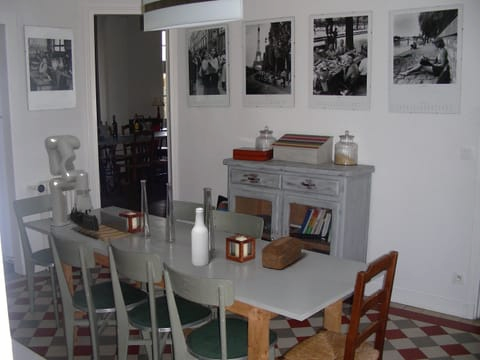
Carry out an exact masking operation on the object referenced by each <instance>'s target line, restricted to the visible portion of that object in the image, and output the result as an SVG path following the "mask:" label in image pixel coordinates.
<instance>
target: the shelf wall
mask: <svg viewBox="0 0 480 360" xmlns="http://www.w3.org/2000/svg"><path fill="white" fill-rule="evenodd" d="M99 216H100V223H101V225H104V226H107V227H110V228H113V229H116V230H119V231H121V232H124V233H128V218H125V217H122V216H119V215H116V214H114V213H113V214H112V213H110V212H108V211H107V212H106V211H102V210H100V211H99Z"/></svg>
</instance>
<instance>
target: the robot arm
mask: <svg viewBox="0 0 480 360" xmlns="http://www.w3.org/2000/svg"><path fill="white" fill-rule="evenodd" d="M44 147H45V150H46V152H47V156H48V165H49V172H50V175H52V176H53V178H51V179H50V180H49V182H48V187H49V192H50V198H51V212H52V213H51V214H52V217H51V219H52V221H51V222H50V226H51V227H52V226H53V227H63V226H68V225H70V224H71V220H68V204H67V203H68V202H67V197H66V195H65V194H64V192H69V191H74V190H75V194H74V198H73V207H74V210H73V212H74V213H76V214H77V215H78V216H79V221H80V222H83V217H82V212H83V211H84V213H85V214H88V215H90V213H91V212H92V210H94V206H93V205H92V204H93V202H92V197H91V196H92V195H91V193H90V192H91V188H90V186H89V185H90V184H89V182H90V181H89V173H88V172H87V171H85V170H84V169H75V164H74V161H75V160H76V159H77V155H76V152H75V150H76V151H77V150H79V149H80V148H81V141H80V139H79V138H78V137H77V136H75V135H72V134H64V135H49V136H47V137H45V139H44ZM55 176H56V177H55ZM57 176H58V177H57ZM59 176H60V177H59ZM76 210H77V211H78V212H77V211H76Z"/></svg>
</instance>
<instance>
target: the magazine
mask: <svg viewBox="0 0 480 360" xmlns="http://www.w3.org/2000/svg"><path fill="white" fill-rule="evenodd" d="M73 210H74V206H73V207H72V209H71V210H70V211H71V212H70V213H69V219H70V221H72V222H73V224H74V225H77V226H78V228H83V229H86V230H90V231H95V232H97V231H100V230H99V224H100V223H99V220H98V218H97V216H96V215H95V214H94V215H91V214H89V215H88V214H85V212H83V211H82V217H83V222H80V221H79V216H78V215H77V214H76V213H74V212H73ZM76 211H77V210H76ZM77 212H78V211H77Z"/></svg>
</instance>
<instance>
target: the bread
mask: <svg viewBox="0 0 480 360" xmlns="http://www.w3.org/2000/svg"><path fill="white" fill-rule="evenodd" d="M302 245H303V241H302V239H300V238H297V237H294V236H281V237H279V238H276V239H274V240H272V241H270V242H269V243H268V244H266V245H265V246H264V247H263V248H262V249H261V265H262V266H263V267H265V268H268V269H273V270H281V269H284V268H286V267H287V266H289V265H291V264H292V263H294V262H295V261H296V260H299V259H300V257H301V256H302Z"/></svg>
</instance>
